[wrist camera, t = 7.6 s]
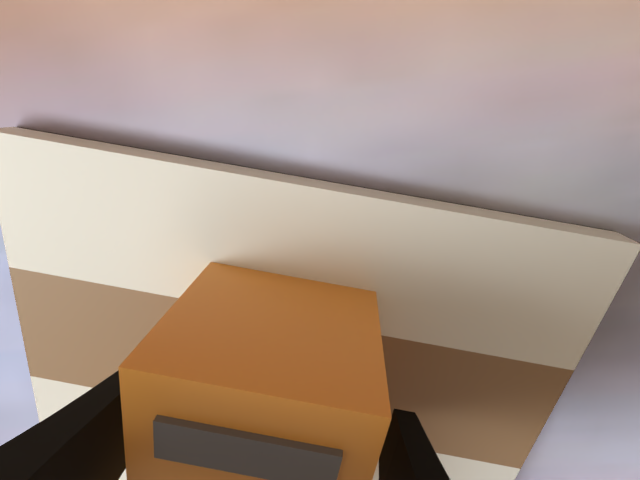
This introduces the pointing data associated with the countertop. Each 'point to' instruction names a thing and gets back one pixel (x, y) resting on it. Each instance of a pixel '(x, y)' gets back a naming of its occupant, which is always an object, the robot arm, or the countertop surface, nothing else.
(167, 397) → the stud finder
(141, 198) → the drywall panel
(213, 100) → the countertop surface
